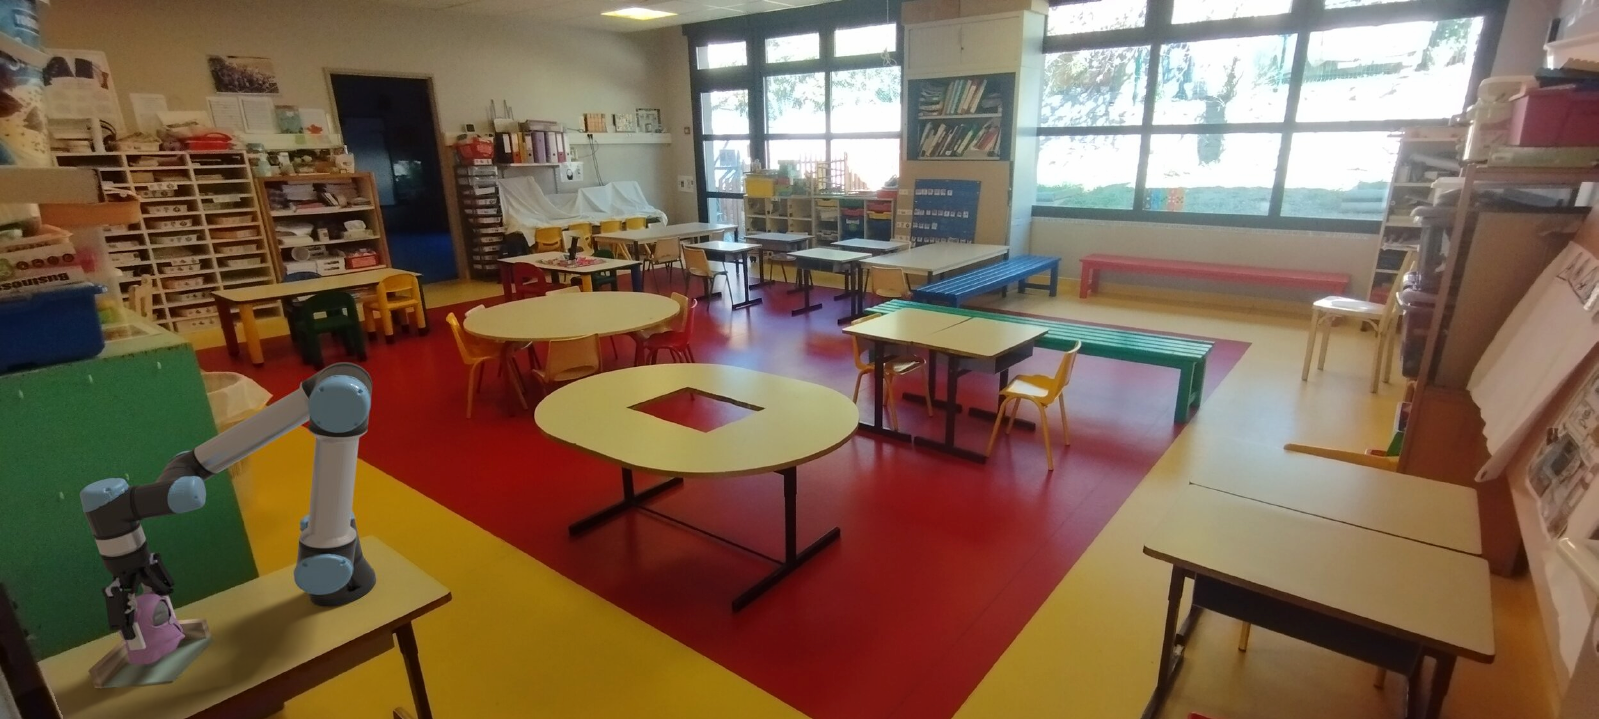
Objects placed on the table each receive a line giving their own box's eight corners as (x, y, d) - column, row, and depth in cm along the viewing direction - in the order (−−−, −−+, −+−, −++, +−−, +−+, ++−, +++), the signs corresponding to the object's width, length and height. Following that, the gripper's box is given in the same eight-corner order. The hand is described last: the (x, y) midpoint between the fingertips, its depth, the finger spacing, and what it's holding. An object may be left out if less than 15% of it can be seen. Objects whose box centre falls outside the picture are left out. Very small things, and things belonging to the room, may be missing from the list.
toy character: (176, 670, 162) (149, 595, 155) (120, 680, 159) (91, 604, 153) (201, 634, 173) (177, 563, 166) (150, 643, 170) (123, 571, 164)
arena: (218, 633, 176) (213, 616, 174) (172, 682, 161) (166, 664, 159) (148, 639, 174) (142, 622, 172) (95, 688, 159) (88, 670, 157)
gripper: (141, 522, 166) (169, 604, 173) (62, 579, 146) (97, 669, 153) (177, 520, 167) (203, 602, 174) (103, 576, 147) (136, 666, 154)
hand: (154, 633), depth 164 cm, fingers closed on toy character, 9 cm apart
